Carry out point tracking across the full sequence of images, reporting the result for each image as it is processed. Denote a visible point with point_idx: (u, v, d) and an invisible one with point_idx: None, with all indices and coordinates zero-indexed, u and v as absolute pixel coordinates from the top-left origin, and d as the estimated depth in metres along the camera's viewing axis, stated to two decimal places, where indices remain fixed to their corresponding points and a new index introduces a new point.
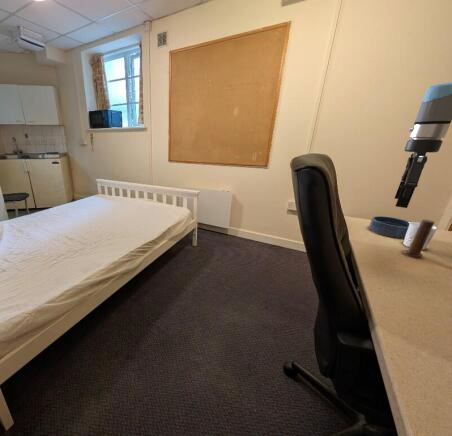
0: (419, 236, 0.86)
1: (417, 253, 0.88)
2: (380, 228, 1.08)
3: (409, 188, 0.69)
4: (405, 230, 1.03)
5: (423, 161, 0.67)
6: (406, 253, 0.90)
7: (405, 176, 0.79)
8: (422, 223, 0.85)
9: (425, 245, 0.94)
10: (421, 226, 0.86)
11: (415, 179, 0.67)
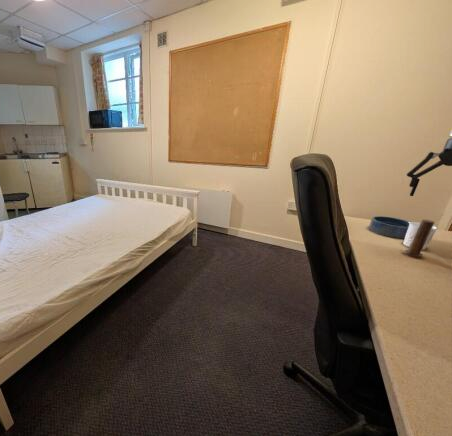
0: (419, 236, 0.86)
1: (417, 253, 0.88)
2: (380, 228, 1.08)
3: None
4: (405, 230, 1.03)
5: None
6: (406, 253, 0.90)
7: None
8: (422, 223, 0.85)
9: (425, 245, 0.94)
10: (421, 226, 0.86)
11: None
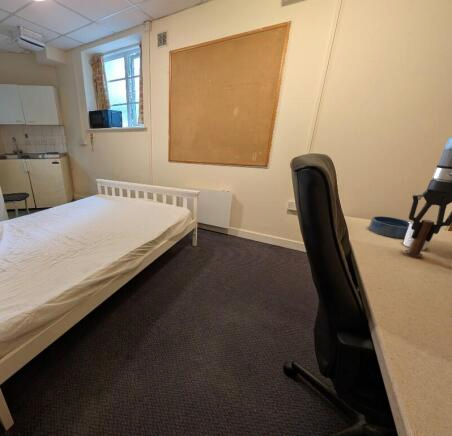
0: (419, 236, 0.86)
1: (417, 253, 0.88)
2: (380, 228, 1.08)
3: (441, 226, 0.83)
4: (405, 230, 1.03)
5: None
6: (406, 253, 0.90)
7: (422, 216, 0.85)
8: (422, 223, 0.85)
9: (425, 245, 0.94)
10: (421, 226, 0.86)
11: None
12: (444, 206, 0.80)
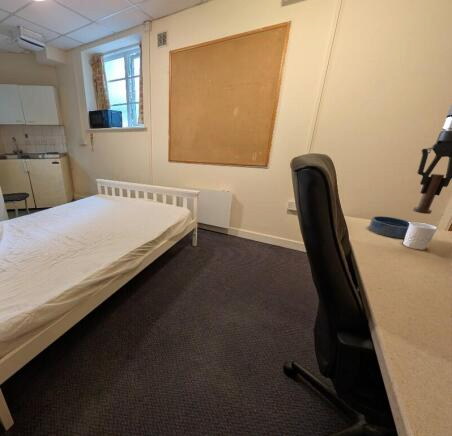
0: (428, 191, 0.86)
1: (426, 208, 0.87)
2: (380, 228, 1.08)
3: None
4: (405, 230, 1.03)
5: None
6: (415, 210, 0.90)
7: None
8: (432, 177, 0.85)
9: (425, 245, 0.94)
10: (430, 180, 0.85)
11: None
12: None
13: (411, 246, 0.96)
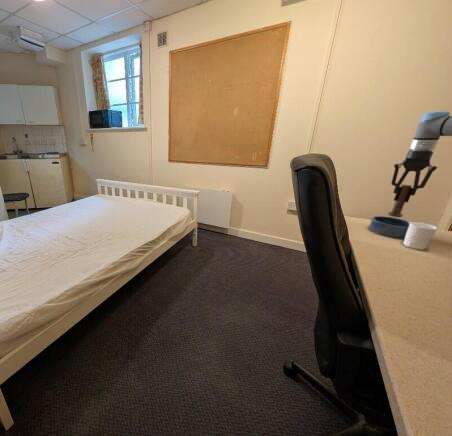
0: (399, 198, 1.05)
1: (398, 213, 1.06)
2: (380, 228, 1.08)
3: (417, 188, 1.01)
4: (405, 230, 1.03)
5: None
6: (389, 214, 1.08)
7: (402, 181, 1.03)
8: (402, 187, 1.03)
9: (425, 245, 0.94)
10: (401, 190, 1.04)
11: (425, 183, 0.99)
12: (419, 171, 0.98)
13: (411, 246, 0.96)
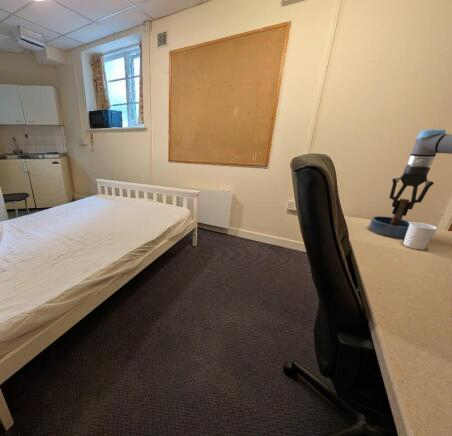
0: (397, 212, 1.07)
1: None
2: (380, 228, 1.08)
3: (415, 202, 1.04)
4: (405, 230, 1.03)
5: None
6: None
7: (400, 195, 1.06)
8: (400, 201, 1.06)
9: (425, 245, 0.94)
10: (399, 204, 1.06)
11: (422, 197, 1.02)
12: (416, 186, 1.01)
13: (411, 246, 0.96)
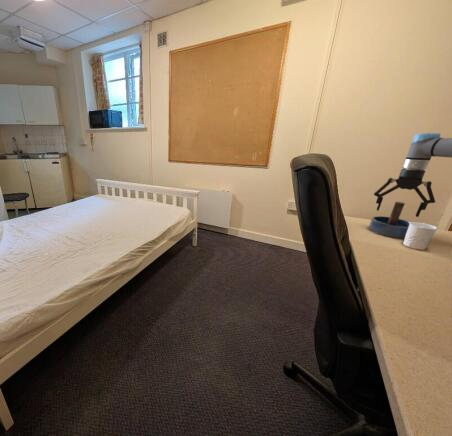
0: (393, 215, 1.08)
1: None
2: (380, 228, 1.08)
3: None
4: (405, 230, 1.03)
5: None
6: None
7: None
8: (395, 204, 1.06)
9: (425, 245, 0.94)
10: (394, 207, 1.07)
11: (433, 197, 0.99)
12: (416, 188, 1.00)
13: (411, 246, 0.96)
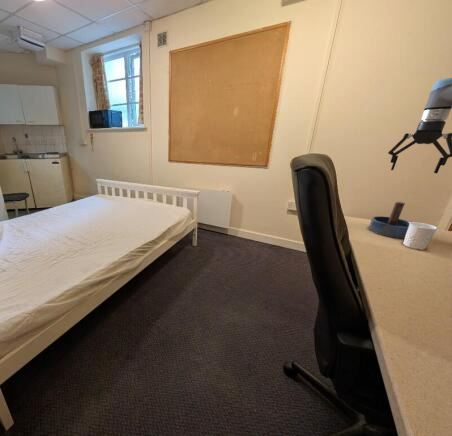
0: (393, 215, 1.08)
1: None
2: (380, 228, 1.08)
3: (448, 157, 0.93)
4: (405, 230, 1.03)
5: None
6: None
7: (401, 151, 1.01)
8: (395, 204, 1.06)
9: (425, 245, 0.94)
10: (394, 207, 1.07)
11: None
12: (436, 142, 0.93)
13: (411, 246, 0.96)
